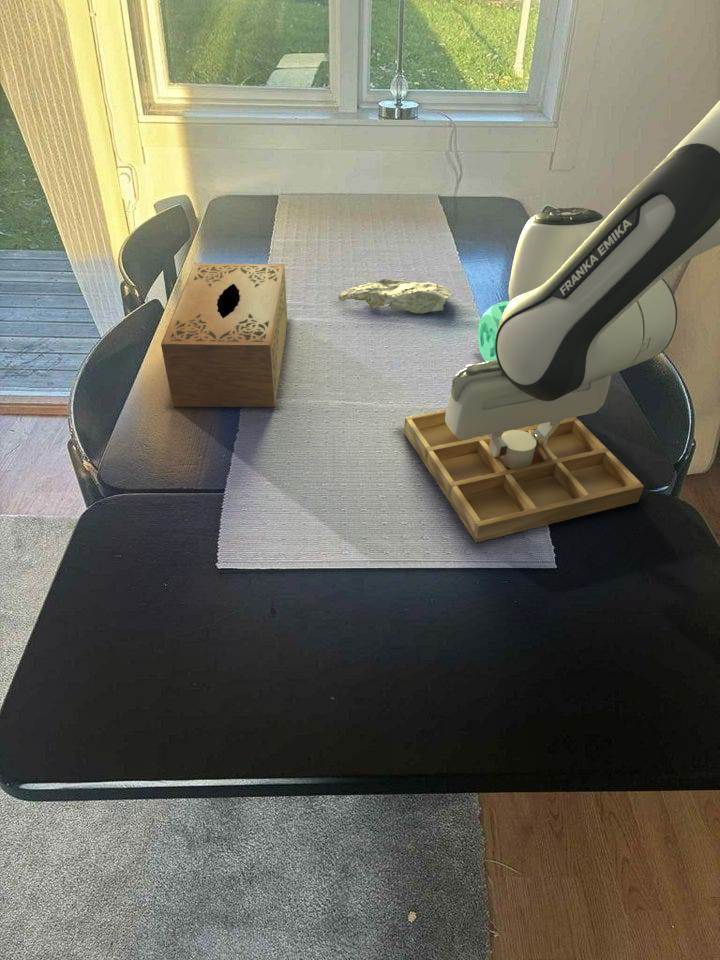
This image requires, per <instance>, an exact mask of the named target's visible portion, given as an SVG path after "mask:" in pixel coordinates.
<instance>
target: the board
mask: <svg viewBox="0 0 720 960" xmlns="http://www.w3.org/2000/svg"><path fill="white" fill-rule="evenodd" d="M446 410H447V408H445V409H441V410H435V411H430V412H424V413H419V414H414V415H408V416H405V417H404V426H403V434H404V436H405V437H406V438H407V439H408V441H409V443H410V444H411V446H412V448H413V449H414V450H415V452H416V454H417V455H418V456H419V458H420V460H421V461H422V463H423V464H424V466H425V467H426V469H427V470H428V472H429V473H430V475H431V477H432V478H433V479H434V481H435V483H436V484H437V485H438V487H439V489H440V490H441V492H442V493H443V495H444V496H445V497H446V499H447V501H448V502H449V504H450V506H451V507H452V508H453V510H454V512H455V514H457V516H458V518H459V519H460V521H461V522H462V523H463V525H464V527H465V528H466V530H467V531H468V534H470V536H471V537H472V539H473V540H474V542H475V543H480V542H484V541H488V540H493V539H497V538H499V537H503V536H509V535H511V534H517V533H520V532H523V531H528V530H531V529H537V528H540V527H545V526H547V525H552V524H556V523H561V522H564V521H568V520H571V519H577V518H580V517H584V516H588V515H593V514H596V513H600V512H603V511H608V510H612V509H616V508H619V507H625V506H628V505H632V504H636V503H639V501H640V498H641V496H642V493H643V490H644V488H645V485H644V484H642V483H641V481H640V480H639V479H638V478H637V477H636V476H635V475H634V474H633V473H632V472H631V471H630V470H629V469H628V468H627V467H626V466H625V465H624V464H623V462H621V461H620V460H619V459H618V458H617V457H616V456H615V455H614V454H613V453H612V452H611V451H610V449H608V448H607V447H606V446H605V445H604V444H603V443H602V442H601V441H600V440H599V439H598V438H597V436H595V434H593V433H592V432H591V431H590V430H589V429H588V428H587V427H586V425H584V423H582V421H580V419H578V417H577V416H576V417H571V418H566V419H562V420H560V424H559V426H558V427H557V428H556V429H555V430H554V432H553V433H552V434H551V435H550V436H549V437H548V440H547V445H546V446H545V447H540V448H536V449H535V453H534V457H533V461H532V464H531V465H529V466H524V467H520V468H515V469H510V468H508V467H505V466H504V465H503V464H502V463H501V462H500V460H499V459H498V457H493V455H492V454H491V453H490V450H489V446H490V439H489V437H488V435H484V436H479V437H475V438H470V439H465V440H460V439H458V438H457V437H456V436H455V435H454V434H453V433H452V432H451V430H450V429H449V428H448V426H447V424H446V422H445V415H446ZM539 425H540V424H537V425H533V426H528V427H523V428H518V429H513V430H521V431H525V432H528V433H530V434H531V431H533V430H537V428H538V427H539ZM508 431H510V430H508ZM505 432H507V431H504V432H503V434H504V433H505ZM503 434H502V435H503ZM498 438H499V437H498Z"/></svg>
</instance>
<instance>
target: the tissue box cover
mask: <svg viewBox="0 0 720 960" xmlns="http://www.w3.org/2000/svg"><path fill="white" fill-rule="evenodd" d="M286 287H287V286H286V268H285V264H284V263H225V262H224V263H222V262H221V263H220V262H219V263H218V262H217V263H216V262H215V263H214V262H211V263H210V262H194V263H193V265H192V267H191V269H190V272H189V274H188V277H187V280H186V282H185V284H184V287H183V289H182V292H181V294H180V297H179V299H178V301H177V303H176V306H175V308H174V311H173V314H172V316H171V318H170V321H169V324H168V326H167V328H166V331H165V333H164V336H163V338H162V341H161V343H160V347H161V352H162V357H163V362H164V367H165V373H166V378H167V382H168V389H169V395H170V399H171V404H172V407H175V408H176V407H177V408H180V407H182V408H185V407H186V408H187V407H188V408H192V407H193V408H276V405H277V398H278V397H277V396H278V391H279V390H278V389H279V382H280V377H281V369H282V362H283V355H284V348H285V341H286V336H287V335H286V334H287V328H288V303H287V288H286Z"/></svg>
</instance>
